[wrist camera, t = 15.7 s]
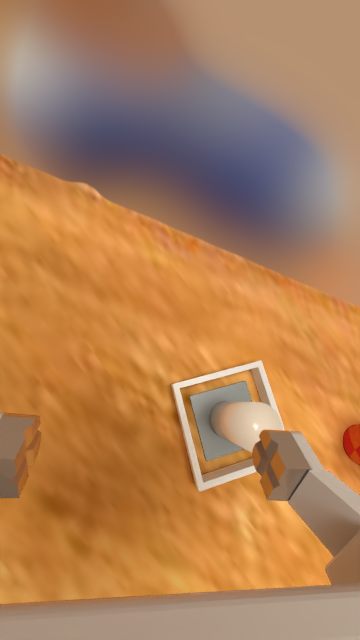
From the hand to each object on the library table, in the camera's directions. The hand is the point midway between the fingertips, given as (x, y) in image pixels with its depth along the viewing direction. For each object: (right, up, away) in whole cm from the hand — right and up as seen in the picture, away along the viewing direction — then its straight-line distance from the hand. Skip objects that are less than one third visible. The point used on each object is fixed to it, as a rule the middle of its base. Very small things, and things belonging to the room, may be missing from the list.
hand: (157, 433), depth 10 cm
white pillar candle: (+8, -10, +28) cm, 31 cm away
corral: (+8, -10, +29) cm, 32 cm away
